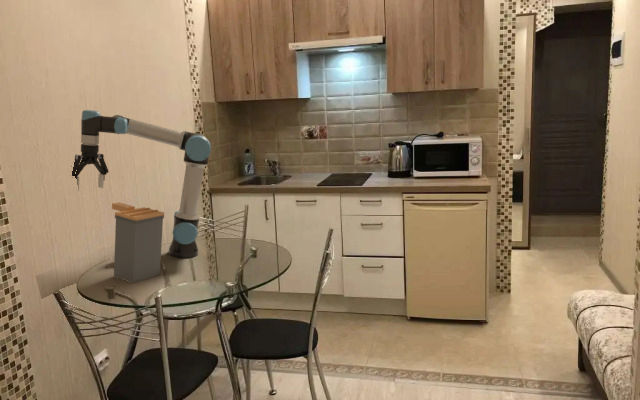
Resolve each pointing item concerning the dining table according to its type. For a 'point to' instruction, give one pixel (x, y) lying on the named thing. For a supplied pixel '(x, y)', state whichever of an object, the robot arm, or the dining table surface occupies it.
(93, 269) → the dining table surface
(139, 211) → the lid
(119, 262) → the tall grey box
